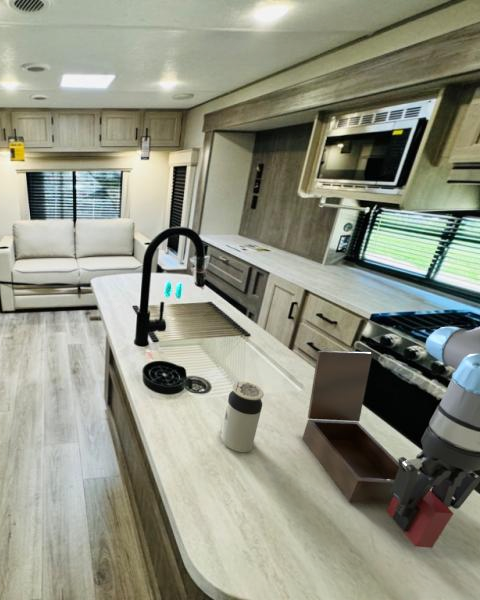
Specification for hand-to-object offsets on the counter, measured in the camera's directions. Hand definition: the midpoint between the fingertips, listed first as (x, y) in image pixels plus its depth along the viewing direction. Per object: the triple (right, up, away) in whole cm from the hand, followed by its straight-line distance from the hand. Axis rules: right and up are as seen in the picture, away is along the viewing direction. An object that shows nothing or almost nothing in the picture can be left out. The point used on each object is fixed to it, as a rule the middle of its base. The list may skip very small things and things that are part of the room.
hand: (409, 525), depth 63 cm
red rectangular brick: (0, -1, 0) cm, 1 cm away
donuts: (-9, +47, +130) cm, 139 cm away
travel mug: (-23, +6, +25) cm, 34 cm away
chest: (+2, +3, +16) cm, 16 cm away
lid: (+2, +23, +20) cm, 30 cm away
